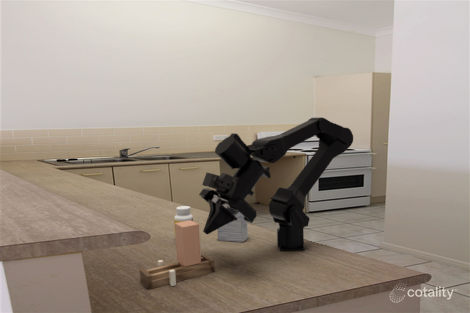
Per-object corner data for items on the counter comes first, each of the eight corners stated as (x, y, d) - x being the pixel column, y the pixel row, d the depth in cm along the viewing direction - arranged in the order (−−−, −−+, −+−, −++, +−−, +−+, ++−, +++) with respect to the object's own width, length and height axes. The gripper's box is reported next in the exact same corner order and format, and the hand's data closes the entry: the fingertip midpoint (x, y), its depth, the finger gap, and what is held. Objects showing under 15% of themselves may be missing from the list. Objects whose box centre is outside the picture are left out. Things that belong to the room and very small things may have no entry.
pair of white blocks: (162, 273, 95) (161, 259, 95) (176, 285, 88) (175, 270, 88) (158, 274, 94) (157, 260, 94) (171, 286, 88) (170, 271, 87)
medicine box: (248, 237, 119) (247, 208, 118) (243, 242, 115) (242, 212, 114) (222, 236, 121) (221, 207, 120) (217, 240, 117) (216, 211, 116)
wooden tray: (204, 264, 99) (204, 253, 99) (215, 272, 94) (214, 260, 94) (140, 281, 91) (139, 269, 91) (148, 289, 86) (147, 277, 86)
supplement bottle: (190, 243, 115) (189, 209, 114) (172, 243, 116) (170, 209, 115) (196, 237, 121) (194, 205, 120) (179, 237, 122) (177, 205, 121)
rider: (192, 261, 97) (190, 220, 96) (201, 267, 93) (198, 224, 92) (177, 265, 95) (174, 223, 94) (184, 271, 91) (182, 227, 90)
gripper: (204, 156, 104) (166, 205, 100) (243, 163, 88) (199, 221, 84) (232, 183, 109) (196, 231, 105) (273, 194, 93) (233, 251, 89)
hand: (205, 233), depth 95 cm, fingers closed
